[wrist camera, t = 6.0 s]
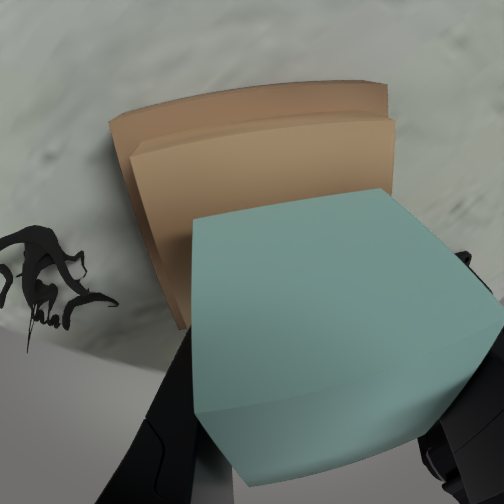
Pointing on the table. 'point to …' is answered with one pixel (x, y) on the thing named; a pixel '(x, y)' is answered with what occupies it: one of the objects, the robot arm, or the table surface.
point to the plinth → (246, 160)
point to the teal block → (328, 332)
